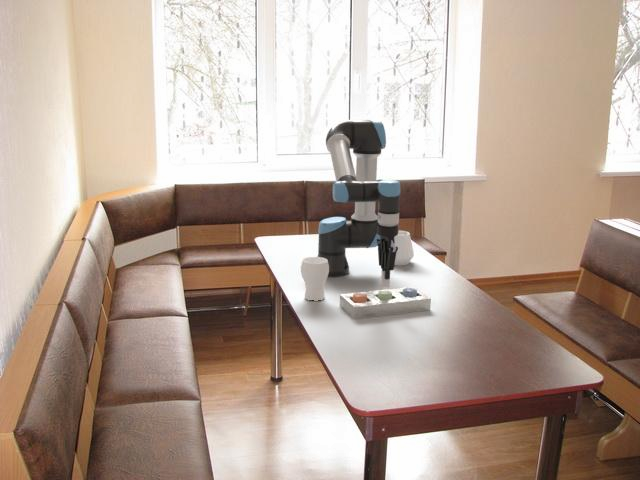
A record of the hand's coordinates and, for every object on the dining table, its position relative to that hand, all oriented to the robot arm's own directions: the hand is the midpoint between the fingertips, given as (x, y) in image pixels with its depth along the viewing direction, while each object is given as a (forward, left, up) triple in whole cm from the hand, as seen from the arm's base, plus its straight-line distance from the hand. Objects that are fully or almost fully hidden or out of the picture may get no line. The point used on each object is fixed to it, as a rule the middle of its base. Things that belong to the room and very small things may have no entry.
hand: (385, 286), depth 242 cm
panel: (0, 0, -8) cm, 8 cm away
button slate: (0, +10, -7) cm, 12 cm away
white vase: (-52, +31, -8) cm, 61 cm away
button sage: (0, 0, -7) cm, 7 cm away
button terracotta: (0, -10, -7) cm, 12 cm away
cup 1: (-18, -21, -8) cm, 29 cm away
